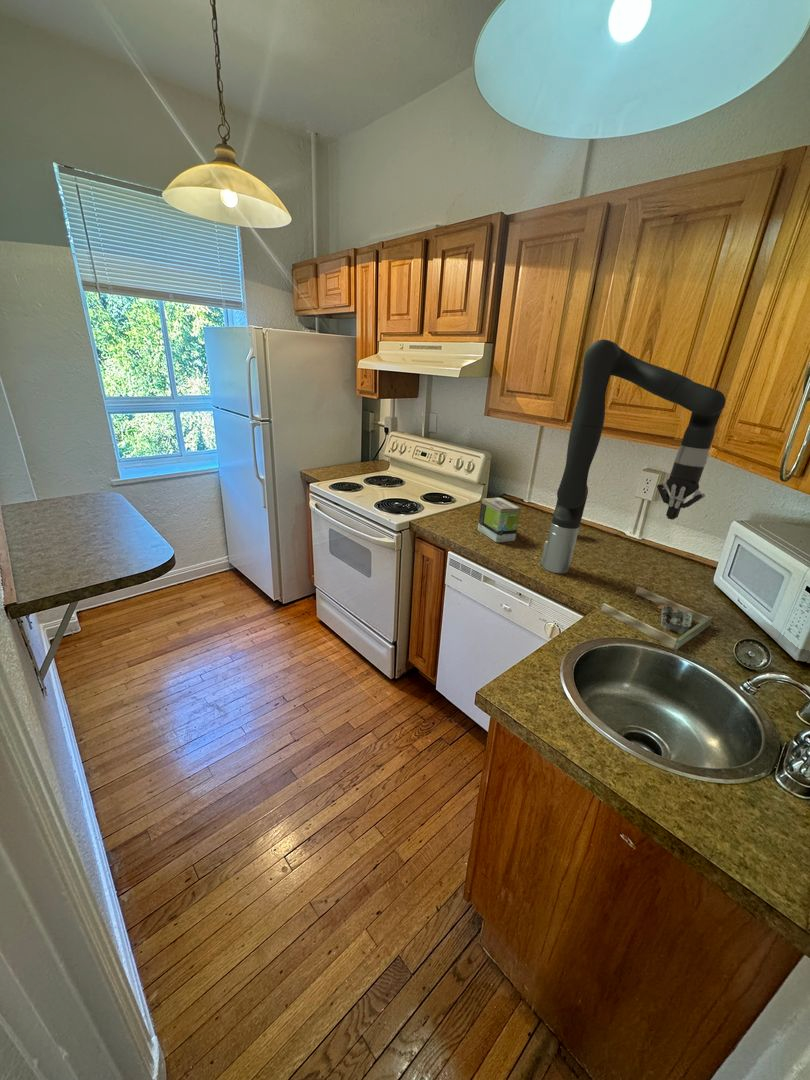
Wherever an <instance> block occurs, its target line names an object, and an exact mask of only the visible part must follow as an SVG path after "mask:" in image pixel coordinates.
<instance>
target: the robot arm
mask: <svg viewBox="0 0 810 1080" xmlns="http://www.w3.org/2000/svg"><path fill="white" fill-rule="evenodd" d="M612 376H613V377H617V378H621V379H623V380H626V381H628V382H630V383H632V384H635V385H636V386H637V387H640V389H643V390H645V391H647V392H649V393H651V394H652V395H654V396H656V397H659V398H661V399H663V400H665V401H668V402H670V403H674V404H676V405H678V406H681V407H682V408H684V409H685V410H688V411H689V412H691V413H690V419H689V422H688V425H687V427H686V428H685V431H684V434H683V437H682V439H681V442H680V447H678V450H677V453H676V455H675V459H674V461H673V465H672V468H671V471H670V475H669V477H668V479H667V480H666V482H663V483H661V484H657V485H656V488H657V491H658V493H659V495H660V497H661V500H662V501H663V504H666V505H668V507H667V511H666V513H665V515H666V519H668V520H671V521H672V520H675V519H677V518H678V517H679V514H680V511H681V509H685V508H689V507H690V506H692V505H694V504H696V503H698V501H700V500H702V499H704V498H705V497H706V495H705V493H702V492H701V491H700V490H699V489H700V481H701V478H702V475H703V471H704V470H705V469H704V468H705V466H706V464H707V460H708V457H709V451H710V449H711V446H712V442H713V439H714V436H715V431H716V426H717V424H718V422H719V419H720V417H721V414H722V412H723V410H724V408H725V405H726V395H725V394H724V393H723V392H722V391H720V390H719V389H716V388H712V387H710V386H707V385H704V384H701V383H699V382H695V381H693V380H692V379H691V378H689V377H687V376H685V375H682V374H679V373H677V372H675V371H673V370H670V369H667V368H664V367H662V366H658V365H655V364H652V363H649V362H647V361H645V360H642V359H639V358H637V357H635V356H634V355H632V354H630V353H629V352H628V351H625V350H624V349H623V348H621V347H620V346H619V345H618V344H617V343H616V342H614V341H612V340H609V339H599V340H596V341H595V342H593V343H592V344H591V345H589V347H588V348H587V350H586V352H585V354H584V358H583V366H582V376H581V386H580V392H579V395H578V398H577V401H576V406H575V410H574V413H573V414H574V415H573V417H572V421H571V427H570V431H569V438H568V442H567V451H566V458H565V468H564V470H563V474H562V477H561V480H560V482H559V483H560V484H559V486H558V489H557V491H556V505H555V508H554V511H553V514H552V518H551V519H552V520H551V523H550V527H549V528H550V529H549V533H548V538H547V540H545V541H544V546H543V549H542V555H541V560H540V565H539V566H542V568H543V569H545V570H546V571H549V572H550V573H553V574H568V573H569V570H570V568H571V567H570V566H571V563H572V559H573V554H574V550H575V546H576V542H577V539H578V534H579V529H580V525H581V521H582V518H583V514H584V510H585V507H586V503H587V498H588V494H589V487H588V478H589V474H590V473H589V472H590V468H591V465H592V462H593V459H594V458H595V455H596V452H597V449H598V447H599V443H600V440H601V437H602V432H603V429H604V424H605V417H606V395H607V390H608V385H609V381H610V378H611V377H612ZM668 491H669V492H668ZM692 494H693V495H692ZM689 496H692V498H691V499H689V500H687V498H688V497H689ZM686 500H687V501H686Z"/></svg>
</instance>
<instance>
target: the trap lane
mask: <svg viewBox="0 0 810 1080" xmlns="http://www.w3.org/2000/svg"><path fill="white" fill-rule="evenodd" d="M634 594H635V595H637V596H640V597H642V598H644V599H646V600H648V601H650V600H651V602H653V603H655V604H657V605H659V606H657V609H659V610H661V611H662V610H663V608H664V605H665V603H667V605H669V606H672V610H674V611H677V610H680V611H682V612H684V611H685V612H686V613H690V614H692V621H695V622H697V623H698V624H696V625H694V626H693V627H692V628H691V629H690V628H689V631H687V632H686V633H685V634H683V635H680V636H679V637H677V638H675V637H673V636H671V635H669V634H668V633H665V632H663V631H661V630H659V629H657V628H655V627H654V626H651V625H649V624H647V623H645V622H643V621H641V620H640V619H637V618H635V617H633V616H632V615H629V614H627V613H626V612H623V611H621V610H620V609H617V608H615V607H612V606H611V605H609V604H607V603H605V602H604V603H602V605H601V609H600V612H602V613H604V614H606V615H607V616H610V617H612V618H614V619H615V620H618V621H619V622H621V623H623V624H626V625H627V626H630V627H631V628H633V629H635V630H637V631H639V632H641V633H643V634H645V635H647V636H649V637H651V638H652V639H655V640H657V641H659V643H663V644H665V645H666V646H669V647H670V648H672V649H675V650H676V651H677V650H679V648H682V647H683V646H684V645H685V644H687V643H688V642H689V641H691V640H692V639H693V638H695V637H696V636H697V635H699V634H700V633H701V632H703V631H704V630H705V629H707V628H708V627H710V626H711V623H712V621H713V616H711V615H709V616H708V615H705V614H703V613H701V612H698V611H696V610H693V609H691V608H689V607H687V606H684V605H682V604H679V603H677V602H675V601H673V600H671V599H668V598H666V597H664V596H661V595H660V594H658V593H657V594H656V593H655V592H652V591H649V590H648V589H645V588H643V587H641V586H637V587H636V590H635V592H634Z"/></svg>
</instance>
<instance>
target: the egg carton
mask: <svg viewBox="0 0 810 1080" xmlns="http://www.w3.org/2000/svg"><path fill="white" fill-rule="evenodd" d="M667 615H668V616H669V619H668V621H669V623H667V618H668V616H667ZM660 616H661V618H660V622H661V623H660V627H662V628H663V629H664V630H665V631H669V632H670V631H674V632H676V633H677V634H679V635H680V636H682V635H683V634H685V633H686V632H687V631H689V630H690V627H692V621H693V619H692V614H690V613H686V612H685V611H684V612H682V611H680V610H677V611H674V610H672V606H669V605H667V603H665V605H664V608H663V610H661V612H660ZM681 621H682V622H681Z"/></svg>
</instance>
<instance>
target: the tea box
mask: <svg viewBox="0 0 810 1080" xmlns="http://www.w3.org/2000/svg"><path fill="white" fill-rule="evenodd" d="M521 510H522V508H521V507H520V506H518V505H516V504H514V503H512V502H510V501H508V500H507V499H504V498H502V497H488V498H487V497H486V498H481V504H480V512H479V516H478V525H477V530H478V531H479V532H480V533H482V534H483V535H484V536H486V537H488V538H489V539H490V540H492V541H493V542H494V543H508V542H514V541H515V540H516V537H517V531H518V527H519V520H520V514H521Z"/></svg>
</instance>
